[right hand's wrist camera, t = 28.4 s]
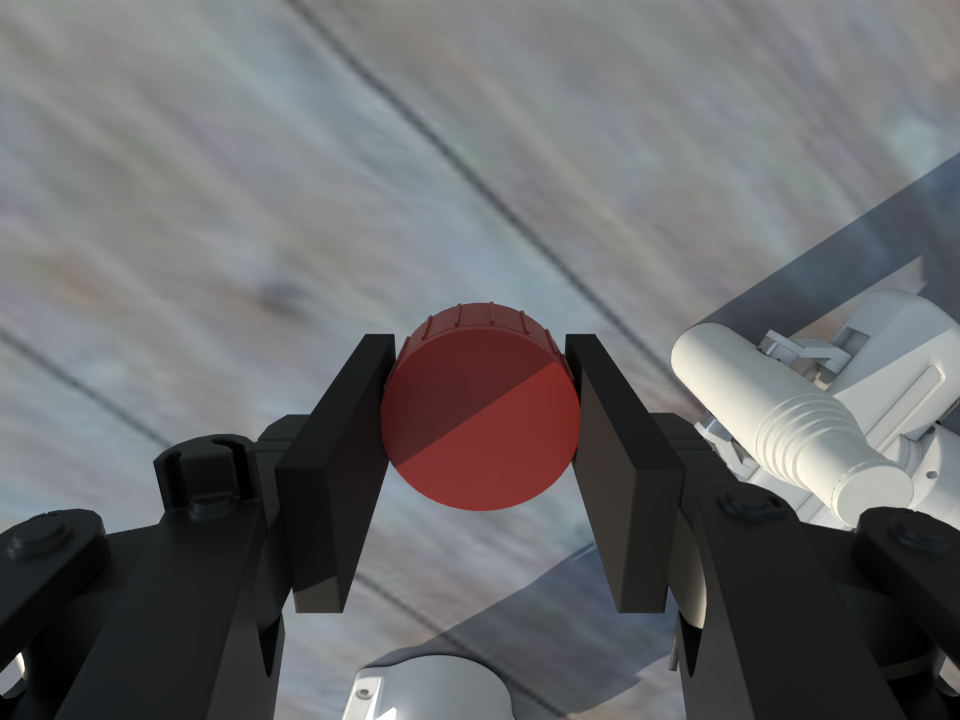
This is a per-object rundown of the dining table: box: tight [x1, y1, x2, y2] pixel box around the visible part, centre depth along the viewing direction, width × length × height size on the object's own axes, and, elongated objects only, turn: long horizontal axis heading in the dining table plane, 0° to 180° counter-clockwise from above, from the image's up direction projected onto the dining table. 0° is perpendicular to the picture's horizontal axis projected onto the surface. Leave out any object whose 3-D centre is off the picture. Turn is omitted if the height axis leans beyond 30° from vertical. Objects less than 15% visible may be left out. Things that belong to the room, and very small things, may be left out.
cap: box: [380, 302, 580, 511], centre depth 13 cm, size 5×5×2 cm
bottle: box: [671, 323, 914, 528], centre depth 32 cm, size 5×5×19 cm
